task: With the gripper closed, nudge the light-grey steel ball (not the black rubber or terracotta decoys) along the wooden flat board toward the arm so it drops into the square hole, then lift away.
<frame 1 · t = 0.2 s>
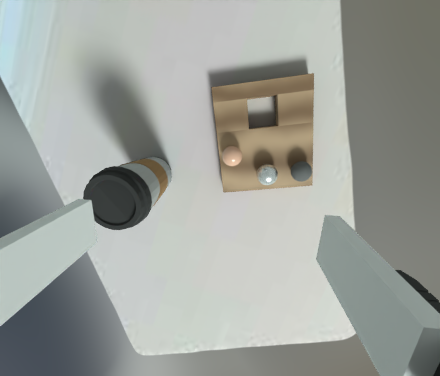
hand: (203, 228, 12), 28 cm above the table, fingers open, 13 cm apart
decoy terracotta: (232, 156, 35), point 4 cm above the table, touching wooden flat board
steel ball: (267, 174, 35), point 4 cm above the table, touching wooden flat board
wooden flat board: (262, 137, 37), on the table
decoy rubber: (301, 171, 35), point 4 cm above the table, touching wooden flat board
coffee cup: (156, 173, 41), on the table
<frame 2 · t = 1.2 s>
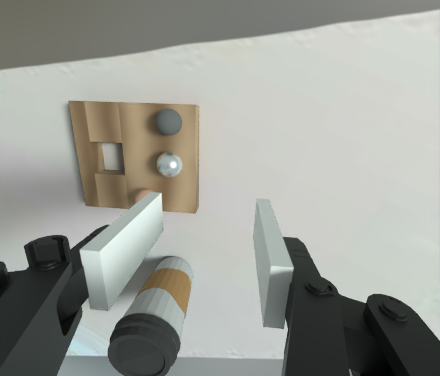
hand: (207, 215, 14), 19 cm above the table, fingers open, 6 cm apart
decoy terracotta: (147, 200, 31), point 4 cm above the table, touching wooden flat board
steel ball: (170, 164, 29), point 4 cm above the table, touching wooden flat board
wooden flat board: (142, 157, 33), on the table
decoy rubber: (169, 122, 27), point 4 cm above the table, touching wooden flat board
coffee cup: (176, 269, 39), on the table
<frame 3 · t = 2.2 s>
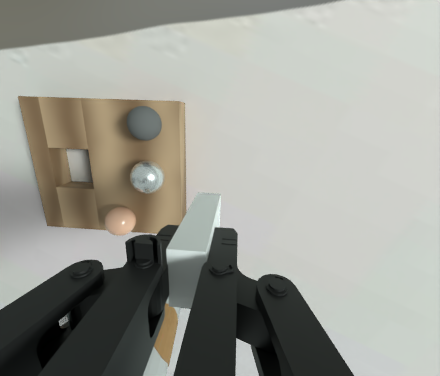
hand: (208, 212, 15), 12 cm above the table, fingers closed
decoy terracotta: (120, 221, 24), point 4 cm above the table, touching wooden flat board
steel ball: (147, 177, 23), point 4 cm above the table, touching wooden flat board
wooden flat board: (117, 166, 27), on the table
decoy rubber: (144, 123, 21), point 4 cm above the table, touching wooden flat board
coffee cup: (161, 298, 33), on the table
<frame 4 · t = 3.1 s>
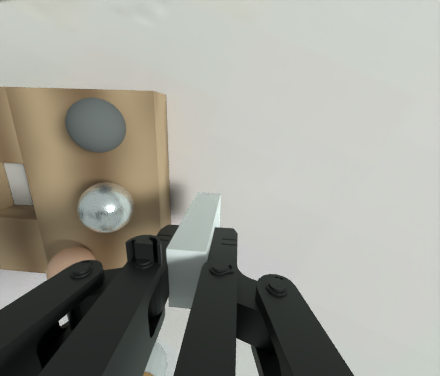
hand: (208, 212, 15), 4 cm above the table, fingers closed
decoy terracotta: (72, 268, 17), point 4 cm above the table, touching wooden flat board
steel ball: (107, 207, 15), point 4 cm above the table, touching wooden flat board
wooden flat board: (74, 184, 19), on the table
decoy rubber: (97, 125, 13), point 4 cm above the table, touching wooden flat board
coffee cup: (142, 353, 25), on the table
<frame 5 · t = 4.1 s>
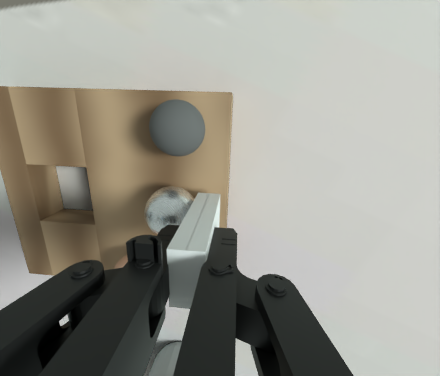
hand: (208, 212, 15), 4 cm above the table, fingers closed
steel ball: (171, 212, 14), point 4 cm above the table, tilted 17°, touching wooden flat board, gripper
wooden flat board: (128, 188, 19), on the table
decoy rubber: (177, 128, 13), point 4 cm above the table, touching wooden flat board
coffee cup: (185, 359, 25), on the table
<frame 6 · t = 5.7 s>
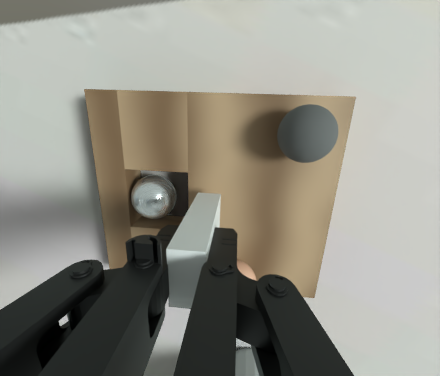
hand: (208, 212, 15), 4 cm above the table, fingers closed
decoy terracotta: (234, 282, 16), point 4 cm above the table, touching wooden flat board
steel ball: (154, 196, 17), point 2 cm above the table, tilted 22°
wooden flat board: (215, 193, 18), on the table
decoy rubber: (306, 134, 12), point 4 cm above the table, touching wooden flat board
coffee cup: (250, 365, 24), on the table
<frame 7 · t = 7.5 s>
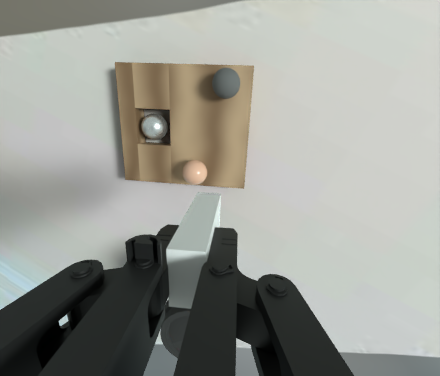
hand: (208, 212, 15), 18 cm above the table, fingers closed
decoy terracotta: (195, 172, 28), point 4 cm above the table, touching wooden flat board
steel ball: (154, 126, 30), point 2 cm above the table, tilted 36°
wooden flat board: (187, 128, 31), on the table
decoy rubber: (226, 83, 25), point 4 cm above the table, touching wooden flat board
coffee cup: (214, 252, 37), on the table
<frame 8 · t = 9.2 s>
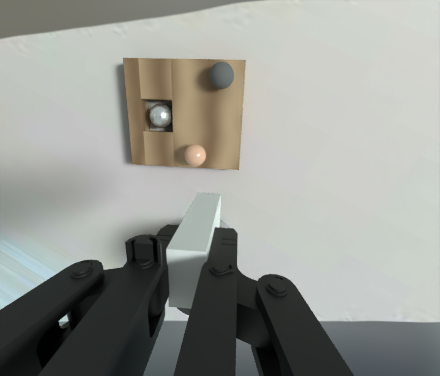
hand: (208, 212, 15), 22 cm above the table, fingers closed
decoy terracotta: (195, 155, 32), point 4 cm above the table, touching wooden flat board
steel ball: (161, 115, 33), point 2 cm above the table, tilted 50°
wooden flat board: (187, 116, 35), on the table
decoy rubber: (221, 75, 29), point 4 cm above the table, touching wooden flat board
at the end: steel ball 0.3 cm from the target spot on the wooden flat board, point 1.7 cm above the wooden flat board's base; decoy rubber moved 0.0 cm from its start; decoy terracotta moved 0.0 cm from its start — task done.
